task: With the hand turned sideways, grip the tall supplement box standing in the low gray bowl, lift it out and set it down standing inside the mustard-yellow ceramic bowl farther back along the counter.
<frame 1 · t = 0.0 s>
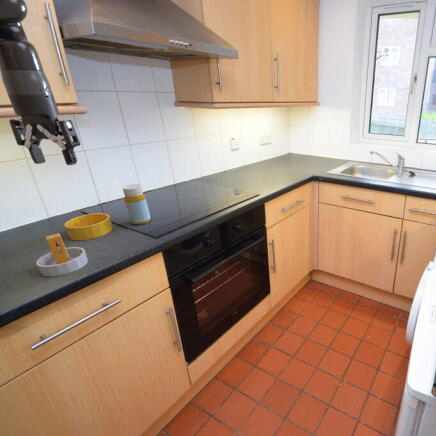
hand: (56, 163, 73), 33 cm above the countertop, tool pointing down, fingers open, 8 cm apart
yellow bowl: (91, 232, 111), on the countertop
supplement box: (65, 265, 90), resting on gray bowl
bottle: (141, 222, 120), on the countertop
gray bowl: (65, 266, 90), on the countertop
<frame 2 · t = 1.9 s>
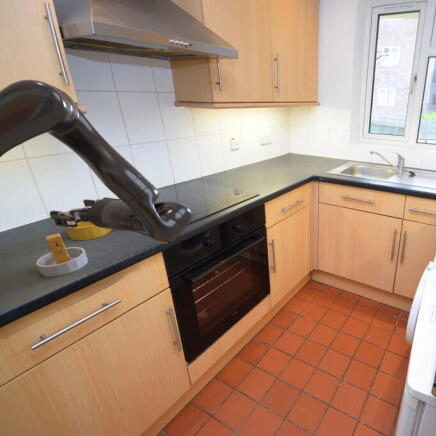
hand: (69, 208, 80), 20 cm above the countertop, tool horizontal, fingers open, 8 cm apart
nothing on the countertop moved.
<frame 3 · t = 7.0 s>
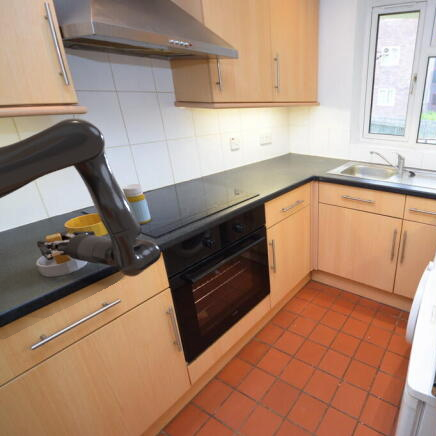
hand: (48, 240, 88), 9 cm above the countertop, tool horizontal, fingers closed on supplement box, 4 cm apart
supplement box: (65, 265, 90), resting on gray bowl, touching gripper
everything else where it was.
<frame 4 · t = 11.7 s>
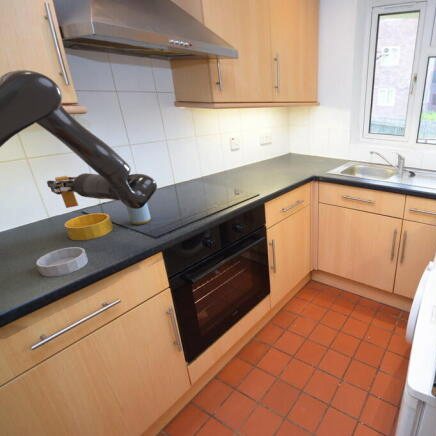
hand: (57, 181, 97), 22 cm above the countertop, tool horizontal, fingers closed on supplement box, 4 cm apart
supplement box: (72, 206, 99), point 13 cm above the countertop, touching gripper
everything else where it was.
when the fingers open (9 cm above the countertop, at t = 16.3 s): supplement box stays where it is, resting on yellow bowl.
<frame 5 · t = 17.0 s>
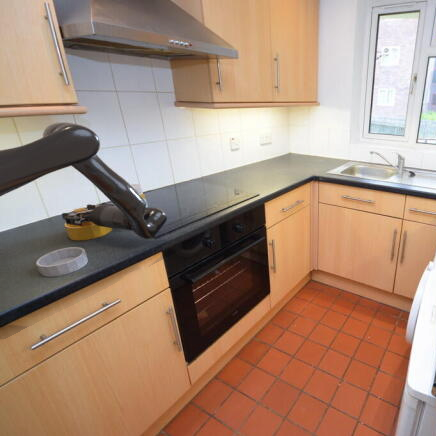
hand: (76, 211, 106), 9 cm above the countertop, tool horizontal, fingers open, 8 cm apart
supplement box: (88, 234, 109), resting on yellow bowl
everything else where it was.
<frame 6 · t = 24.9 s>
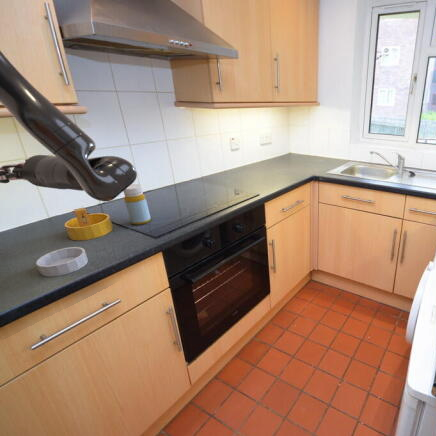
hand: (7, 167, 73), 32 cm above the countertop, tool horizontal, fingers open, 8 cm apart
nothing on the countertop moved.
at the end: supplement box inside the target area in the yellow bowl (2.8 cm from its centre), point 0.3 cm above the yellow bowl's base; the gripper is holding nothing; supplement box moved 21.8 cm from its start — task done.
